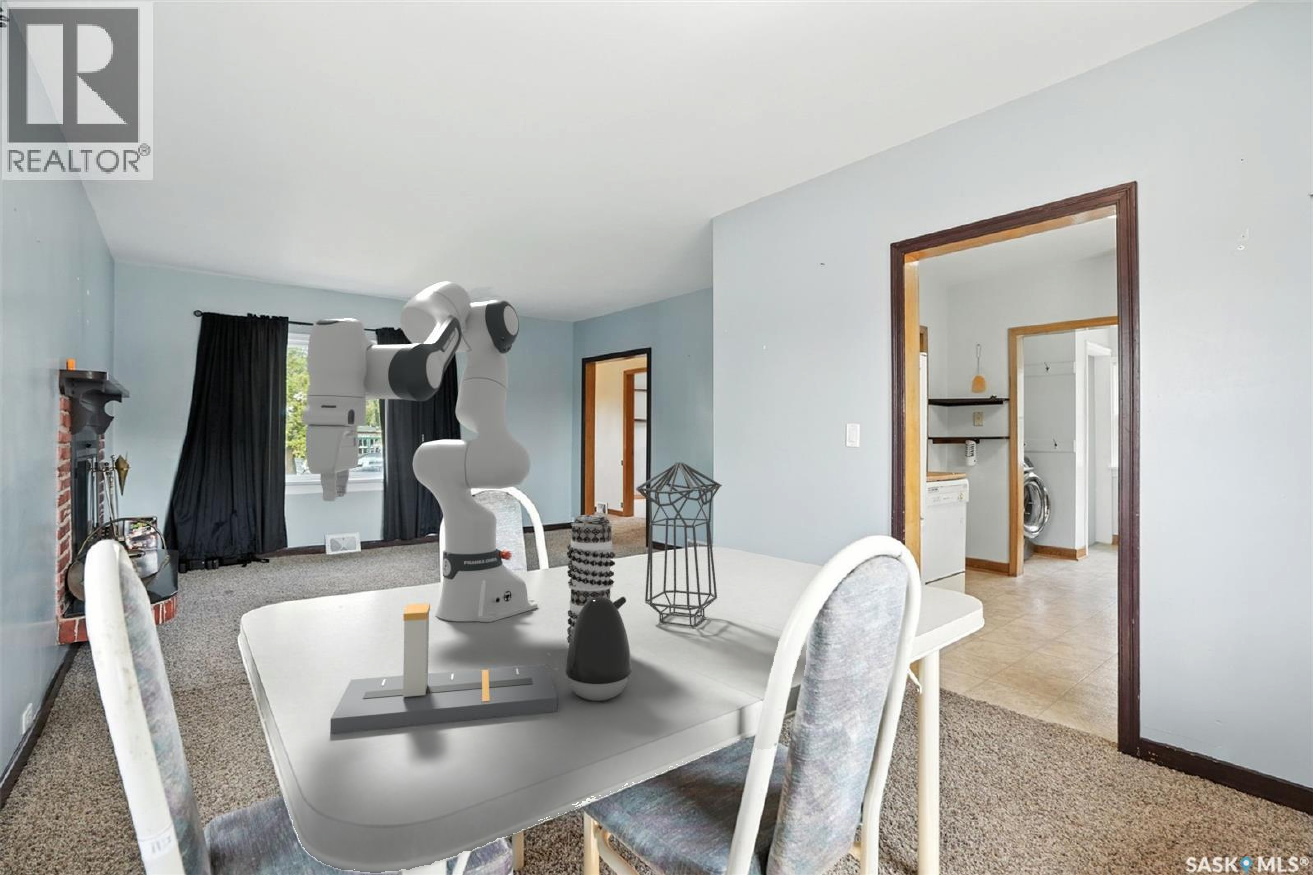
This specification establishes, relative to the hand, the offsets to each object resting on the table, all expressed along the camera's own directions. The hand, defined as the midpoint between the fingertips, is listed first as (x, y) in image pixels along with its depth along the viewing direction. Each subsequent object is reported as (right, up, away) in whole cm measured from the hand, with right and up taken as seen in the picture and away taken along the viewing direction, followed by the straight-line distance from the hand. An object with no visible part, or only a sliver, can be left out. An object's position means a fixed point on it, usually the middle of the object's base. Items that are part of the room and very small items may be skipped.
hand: (335, 498), depth 105 cm
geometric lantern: (+58, -30, +35) cm, 74 cm away
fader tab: (+18, -27, -11) cm, 34 cm away
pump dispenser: (+44, -30, -6) cm, 54 cm away
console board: (+22, -30, -10) cm, 38 cm away
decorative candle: (+40, -30, +16) cm, 53 cm away
